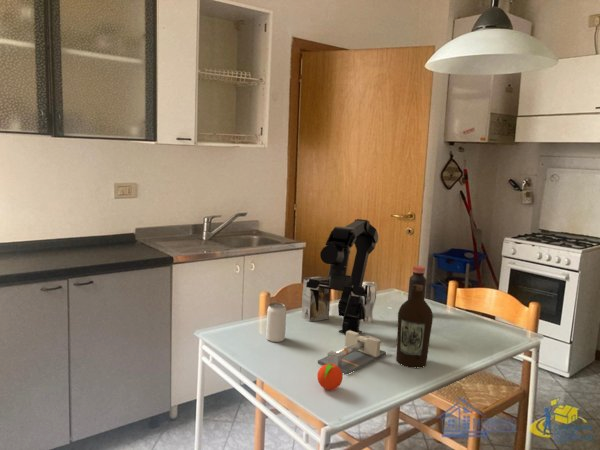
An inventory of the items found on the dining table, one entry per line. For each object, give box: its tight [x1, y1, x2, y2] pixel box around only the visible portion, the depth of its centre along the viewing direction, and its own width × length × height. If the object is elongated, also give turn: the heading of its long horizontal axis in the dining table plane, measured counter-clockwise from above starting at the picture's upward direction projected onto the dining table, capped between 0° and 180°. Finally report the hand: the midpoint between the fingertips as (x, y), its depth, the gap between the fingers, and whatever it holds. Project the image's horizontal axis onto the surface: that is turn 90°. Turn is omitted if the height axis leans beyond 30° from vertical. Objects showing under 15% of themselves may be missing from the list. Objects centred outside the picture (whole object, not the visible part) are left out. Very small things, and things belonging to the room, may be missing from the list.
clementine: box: [316, 363, 343, 391], centre depth 135 cm, size 8×7×7 cm
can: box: [265, 302, 287, 343], centre depth 169 cm, size 6×6×12 cm
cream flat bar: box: [344, 330, 382, 357], centre depth 159 cm, size 2×12×5 cm, turn 50°
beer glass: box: [360, 280, 378, 324], centre depth 193 cm, size 7×7×15 cm
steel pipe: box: [326, 335, 379, 367], centre depth 156 cm, size 22×4×4 cm, turn 140°
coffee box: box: [301, 275, 331, 322], centre depth 193 cm, size 9×6×16 cm
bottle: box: [407, 265, 427, 301], centre depth 205 cm, size 7×7×20 cm
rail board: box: [317, 347, 387, 375], centre depth 156 cm, size 22×11×1 cm, turn 140°
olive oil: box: [395, 284, 434, 369], centre depth 155 cm, size 11×11×25 cm
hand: (331, 313), depth 159 cm, fingers open, 9 cm apart
